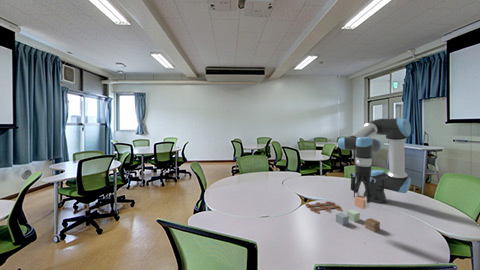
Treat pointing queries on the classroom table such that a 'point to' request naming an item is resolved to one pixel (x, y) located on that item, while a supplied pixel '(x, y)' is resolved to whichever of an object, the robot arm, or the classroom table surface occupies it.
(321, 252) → the classroom table surface
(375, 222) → the walnut block
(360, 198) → the terracotta block
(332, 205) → the decorative fence
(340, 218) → the slate block
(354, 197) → the robot arm
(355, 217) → the sage block
